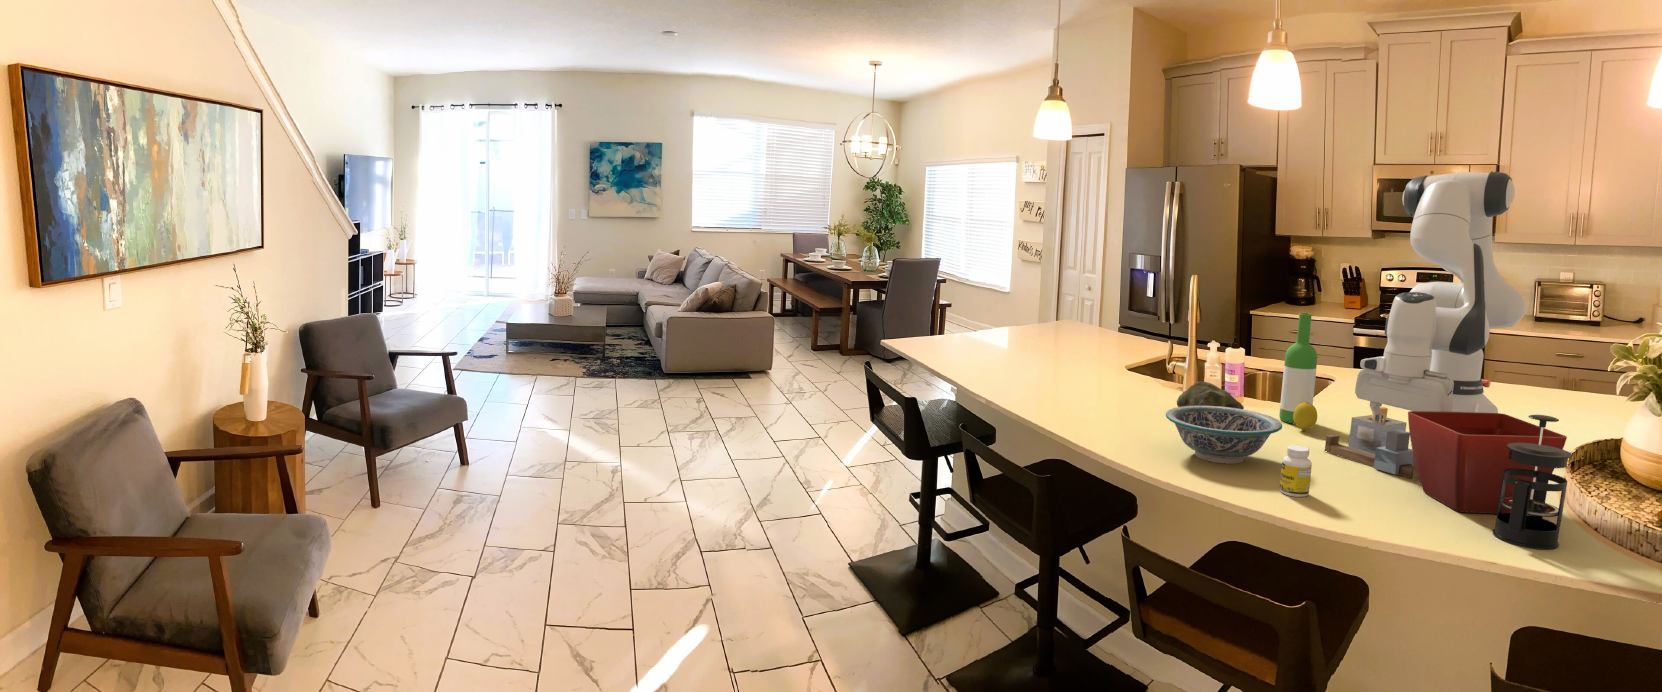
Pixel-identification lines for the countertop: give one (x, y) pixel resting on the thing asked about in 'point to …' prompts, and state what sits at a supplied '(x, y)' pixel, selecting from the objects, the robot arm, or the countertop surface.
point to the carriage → (1394, 452)
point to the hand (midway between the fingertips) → (1398, 427)
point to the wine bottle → (1298, 371)
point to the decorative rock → (1207, 396)
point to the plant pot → (1471, 455)
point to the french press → (1519, 522)
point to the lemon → (1305, 416)
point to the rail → (1363, 456)
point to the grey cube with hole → (1371, 432)
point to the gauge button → (1383, 411)
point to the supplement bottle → (1296, 472)
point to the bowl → (1222, 431)
